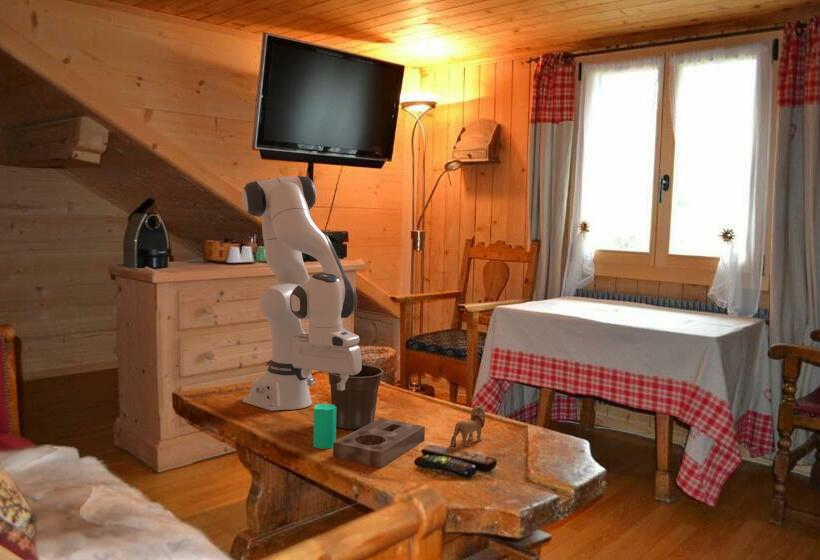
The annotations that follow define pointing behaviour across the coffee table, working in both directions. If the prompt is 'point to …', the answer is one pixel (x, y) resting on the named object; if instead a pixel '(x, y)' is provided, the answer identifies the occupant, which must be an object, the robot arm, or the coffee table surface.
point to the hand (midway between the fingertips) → (325, 387)
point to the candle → (324, 426)
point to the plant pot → (356, 397)
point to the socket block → (378, 442)
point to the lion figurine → (470, 426)
